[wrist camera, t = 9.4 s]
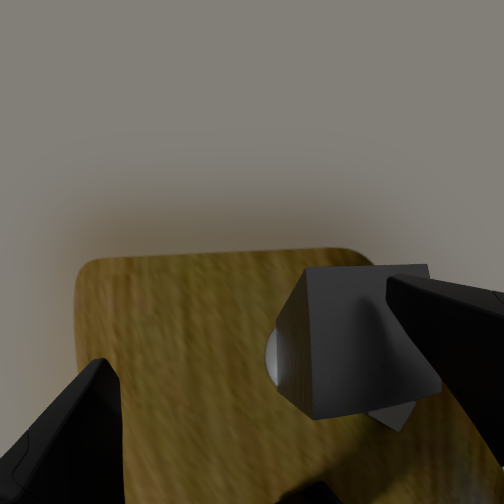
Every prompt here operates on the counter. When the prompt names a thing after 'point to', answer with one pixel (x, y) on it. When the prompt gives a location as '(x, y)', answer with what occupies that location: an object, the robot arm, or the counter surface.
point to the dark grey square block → (348, 344)
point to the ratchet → (386, 416)
